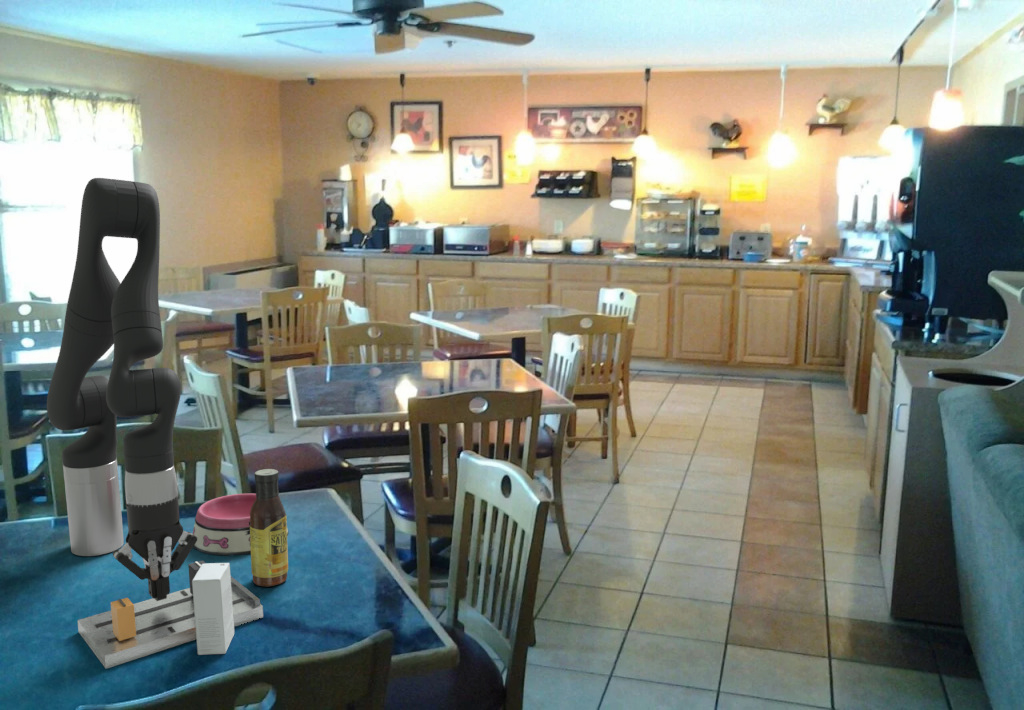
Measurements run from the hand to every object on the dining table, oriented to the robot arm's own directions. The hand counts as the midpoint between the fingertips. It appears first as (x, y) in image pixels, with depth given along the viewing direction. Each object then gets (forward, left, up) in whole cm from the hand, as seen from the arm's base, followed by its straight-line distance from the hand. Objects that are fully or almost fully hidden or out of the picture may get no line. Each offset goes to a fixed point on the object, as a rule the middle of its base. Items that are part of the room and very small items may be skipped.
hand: (159, 598), depth 140 cm
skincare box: (+14, +4, -4) cm, 15 cm away
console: (+3, +1, -4) cm, 5 cm away
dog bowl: (-24, +24, -4) cm, 34 cm away
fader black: (0, +7, -1) cm, 7 cm away
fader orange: (+6, -7, -1) cm, 10 cm away
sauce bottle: (-2, +20, -4) cm, 20 cm away
